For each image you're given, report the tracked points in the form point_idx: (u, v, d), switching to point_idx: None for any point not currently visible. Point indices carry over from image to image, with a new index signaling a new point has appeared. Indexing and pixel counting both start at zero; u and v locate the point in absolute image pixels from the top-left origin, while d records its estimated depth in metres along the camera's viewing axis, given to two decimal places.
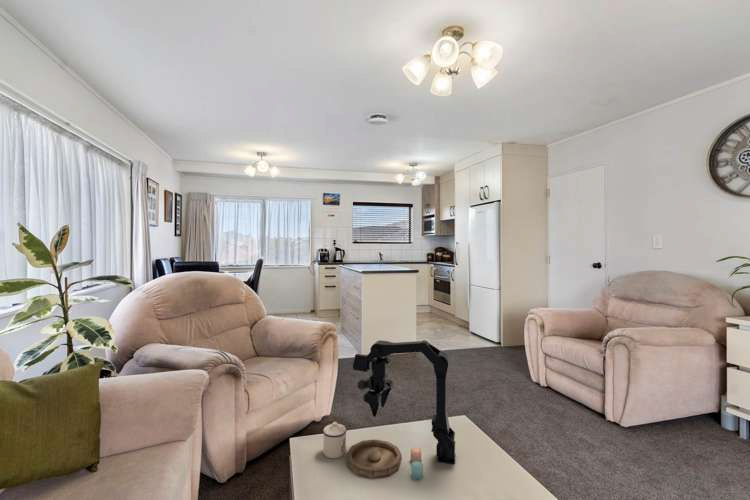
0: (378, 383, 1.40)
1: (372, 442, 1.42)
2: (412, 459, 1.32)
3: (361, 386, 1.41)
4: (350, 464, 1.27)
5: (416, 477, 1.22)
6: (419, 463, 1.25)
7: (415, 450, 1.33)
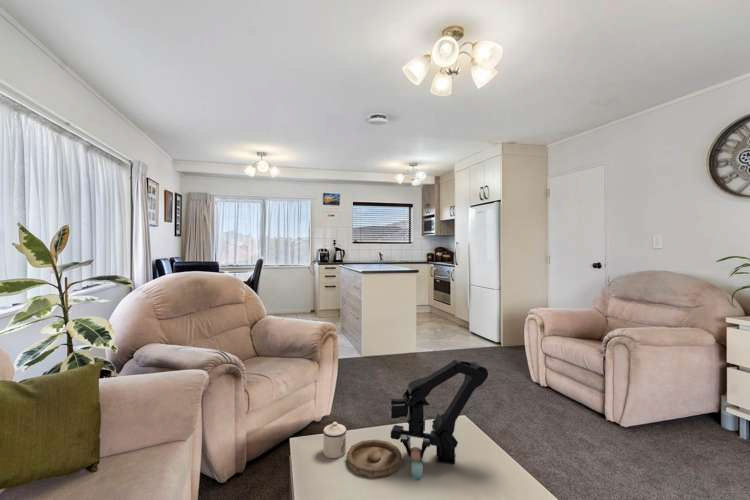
0: None
1: (372, 442, 1.42)
2: (412, 459, 1.32)
3: (408, 420, 1.40)
4: (350, 464, 1.27)
5: (416, 477, 1.22)
6: (419, 463, 1.25)
7: (415, 450, 1.33)
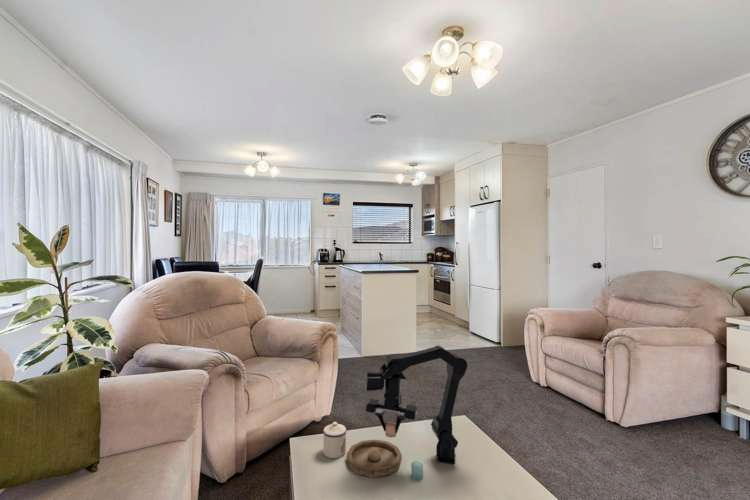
0: (384, 398, 1.32)
1: (372, 442, 1.42)
2: (387, 433, 1.30)
3: None
4: (350, 464, 1.27)
5: (416, 477, 1.22)
6: (419, 463, 1.25)
7: (390, 424, 1.31)
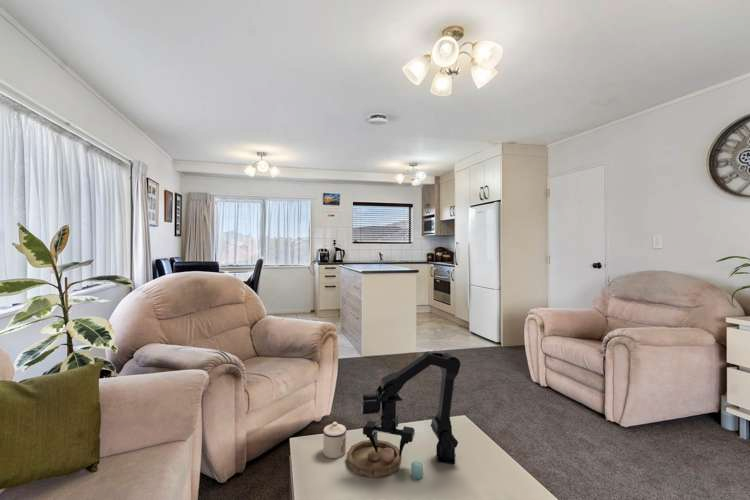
0: (381, 420, 1.32)
1: None
2: (384, 460, 1.30)
3: None
4: (350, 464, 1.27)
5: (416, 477, 1.22)
6: (419, 463, 1.25)
7: (387, 450, 1.31)
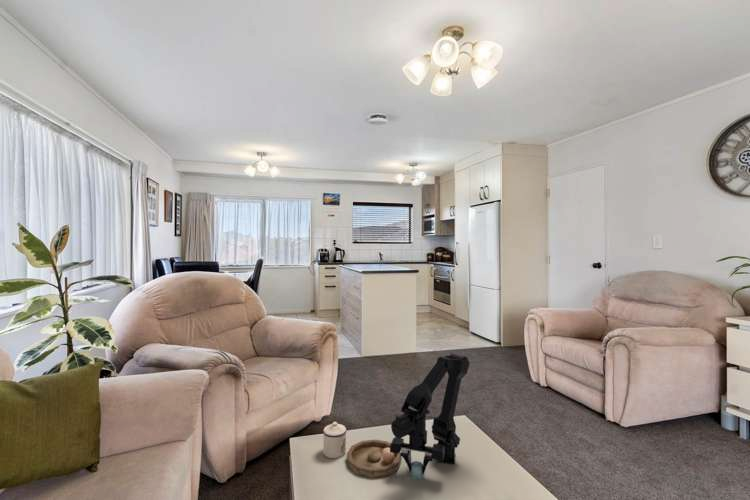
0: (409, 437, 1.24)
1: (372, 442, 1.42)
2: (384, 460, 1.30)
3: None
4: (350, 464, 1.27)
5: (417, 477, 1.22)
6: (419, 463, 1.25)
7: (387, 450, 1.31)
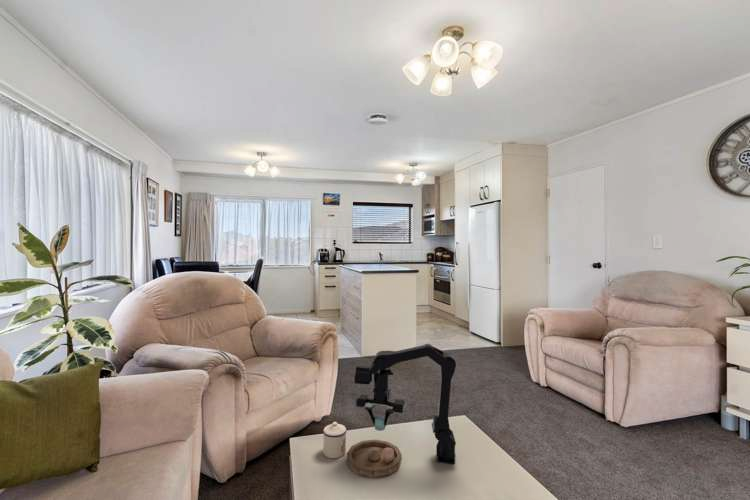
0: None
1: (372, 442, 1.42)
2: (384, 460, 1.30)
3: None
4: (350, 464, 1.27)
5: (379, 428, 1.35)
6: (382, 417, 1.38)
7: (387, 450, 1.31)
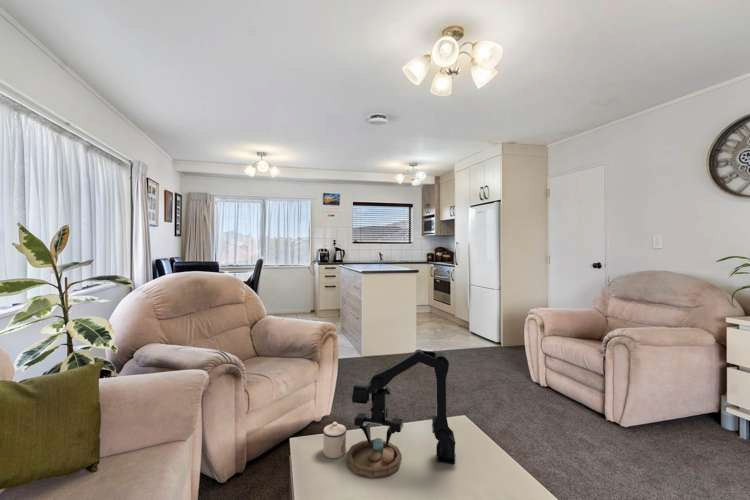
0: (371, 412, 1.38)
1: (372, 442, 1.42)
2: (384, 460, 1.30)
3: None
4: (350, 464, 1.27)
5: None
6: (380, 440, 1.39)
7: (387, 450, 1.31)
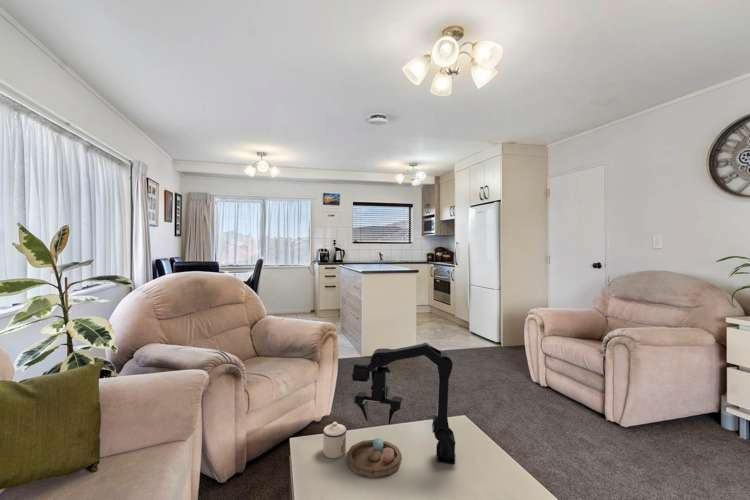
0: None
1: (372, 442, 1.42)
2: (384, 460, 1.30)
3: None
4: (350, 464, 1.27)
5: None
6: (380, 440, 1.39)
7: (387, 450, 1.31)
